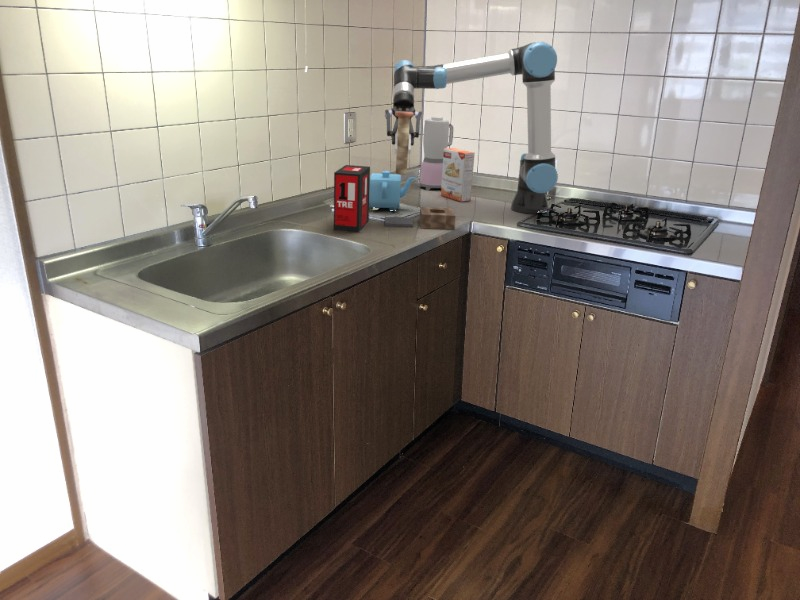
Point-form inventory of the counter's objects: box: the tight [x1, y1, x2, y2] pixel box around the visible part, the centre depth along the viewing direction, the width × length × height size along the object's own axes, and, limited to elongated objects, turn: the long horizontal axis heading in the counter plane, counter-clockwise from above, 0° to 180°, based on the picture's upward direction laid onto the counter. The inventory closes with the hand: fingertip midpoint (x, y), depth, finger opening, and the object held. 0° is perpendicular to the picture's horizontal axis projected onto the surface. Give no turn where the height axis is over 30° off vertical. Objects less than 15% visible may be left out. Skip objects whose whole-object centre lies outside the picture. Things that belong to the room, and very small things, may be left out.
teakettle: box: [369, 170, 417, 211], centre depth 259 cm, size 19×19×15 cm
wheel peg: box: [394, 111, 414, 176], centre depth 230 cm, size 6×6×21 cm
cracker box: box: [440, 147, 476, 203], centre depth 281 cm, size 14×6×21 cm, turn 36°
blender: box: [419, 116, 454, 191], centre depth 299 cm, size 16×12×32 cm
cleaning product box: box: [333, 164, 371, 233], centre depth 230 cm, size 16×9×20 cm, turn 171°
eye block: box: [419, 206, 456, 230], centre depth 240 cm, size 12×12×5 cm
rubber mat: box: [384, 216, 414, 228], centre depth 240 cm, size 10×10×1 cm
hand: (402, 151), depth 227 cm, fingers closed on wheel peg, 4 cm apart
